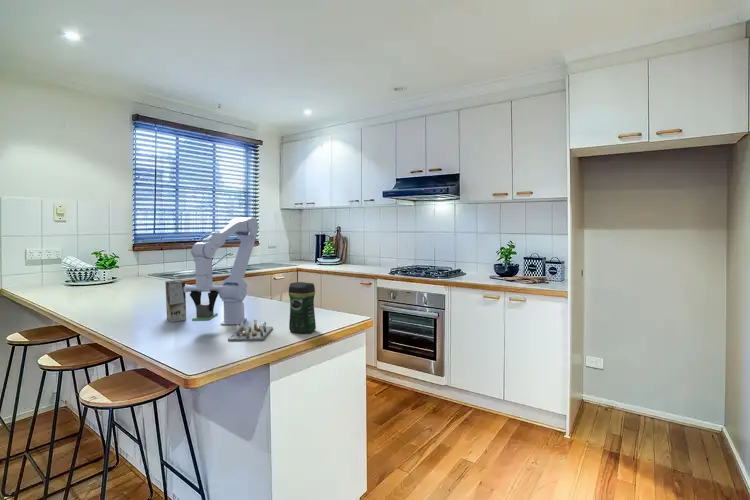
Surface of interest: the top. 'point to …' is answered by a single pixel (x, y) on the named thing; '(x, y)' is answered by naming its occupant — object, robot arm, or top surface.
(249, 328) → the peg board with balls
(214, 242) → the robot arm
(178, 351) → the top surface
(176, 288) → the coffee box
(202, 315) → the grey block
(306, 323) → the coffee jar
